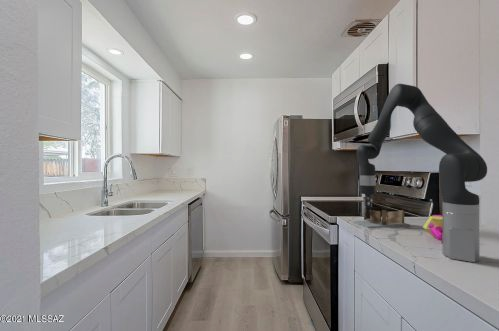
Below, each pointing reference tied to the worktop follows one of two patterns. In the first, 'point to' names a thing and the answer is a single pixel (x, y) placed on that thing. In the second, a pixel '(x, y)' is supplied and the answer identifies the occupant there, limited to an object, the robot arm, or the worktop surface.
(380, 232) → the worktop surface
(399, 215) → the fence fixed
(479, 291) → the worktop surface
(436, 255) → the worktop surface
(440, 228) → the toy
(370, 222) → the mat
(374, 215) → the fence gate
